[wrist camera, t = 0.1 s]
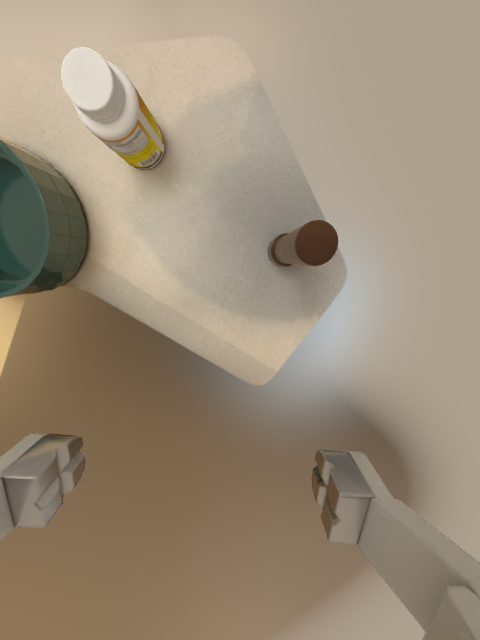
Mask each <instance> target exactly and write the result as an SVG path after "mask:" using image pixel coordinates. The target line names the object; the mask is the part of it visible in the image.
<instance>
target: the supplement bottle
mask: <svg viewBox="0 0 480 640" xmlns="http://www.w3.org/2000/svg"><path fill="white" fill-rule="evenodd" d="M61 80H62V84H63V87H64V90H65V92H66V94H67V95H68V97H69V98H70V100H71V101H72V102H73V103H74V107H75V110H76V112H77V114H78V116H79V118H80V120H81V121H82V123H83V124H84V125H85V126H86V127H87V128H88V129H89V130H90V131H91V132H92V133H93V134H94V135H95V136H97V137H98V138H99V139H100V140H101V141H103V142H104V143H105V144H106V145H107V146H108V147H110V148H111V149H112V150H113V151H114V152H115V153H117V154H118V155H119V156H120V157H121V158H123V159H124V160H125V161H126V162H127V163H128V164H130V165H132V166H133V167H135V168H138V169H149V168H152V167H154V166H155V165H157V164H158V163H159V161H160V160H161V158H162V156H163V153H164V137H163V134H162V132H161V129H160V127H159V126H158V124H157V122H156V121H155V119H154V118H153V116H152V114H151V113H150V111H149V110H148V108H147V106H146V105H145V103H144V102H143V100H142V98H141V97H140V95H139V93H138V92H137V90H136V89H135V87H134V85H133V84H132V82H131V80H130V79H129V78H128V76H127V75H126V74H125V73H124V72H123V71H122V70H121V69H120V68H119V67H118V66H116V65H115V64H113V63H111V62H108V61H106V60H105V59H104V58H103V57H102V56H101V55H100V54H99V53H97V52H96V51H95V50H93V49H90V48H86V47H78V48H75V49H73V50H71V51H70V52H69V53H68V54H67V55H66V57H65V58H64V60H63V63H62V67H61Z"/></svg>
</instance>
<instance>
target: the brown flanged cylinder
mask: <svg viewBox="0 0 480 640" xmlns="http://www.w3.org/2000/svg"><path fill="white" fill-rule="evenodd" d="M337 246H338V236H337V233H336V231H335V229H334V228H333V226H332V225H330V224H329V223H328V222H325V221H322V220H315V221H311V222H309V223H307V224H305V225H303V226H301V227H299V228H298V229H296V230H294V231H292V232H290V233H289V234H282V235H280V236H278V237H276V238H275V239H274V240H272V242H271V243H270V245H269V247H268V256H269V258H270V260H271V261H272V262H273V263H274V264H276V265H279V266H291V265H293V264H295V265H309V266H318V265H322V264H324V263H326V262H327V261H329V260H330V259H331V258H332V257H333V255H334V254H335V252H336V250H337Z"/></svg>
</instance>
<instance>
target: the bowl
mask: <svg viewBox="0 0 480 640" xmlns="http://www.w3.org/2000/svg"><path fill="white" fill-rule="evenodd" d="M86 242H87V233H86V224H85V218H84V215H83V212H82V210H81V207H80V204H79V201H78V199H77V197H76V196H75V194H74V193H73V191H72V189H71V188H70V186H69V184H68V183H67V182H66V181H65V179H64V178H63V177H62V176H61V175H60V174H59V173H58V172H57V171H56V170H55V169H54V168H53V167H52V166H51V165H49V164H48V163H46V162H45V161H43V160H42V159H40V158H39V157H37V156H36V155H34V154H33V153H31V152H29V151H27V150H25V149H23V148H21V147H19V146H17V145H15V144H13V143H11V142H9V141H7V140H5V139H3V138H2V137H0V299H1V298H7V297H13V296H20V295H26V294H32V293H39V292H43V291H48V290H53V289H55V288H57V287H59V286H60V285H62V284H64V283H66V282H67V281H68V280H69V279H70V278H71V277H72V276H73V275H74V274H75V273H76V272H77V270H78V268H79V266H80V264H81V262H82V260H83V258H84V255H85V249H86Z"/></svg>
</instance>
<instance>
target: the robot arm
mask: <svg viewBox="0 0 480 640" xmlns="http://www.w3.org/2000/svg"><path fill="white" fill-rule="evenodd" d="M82 446H83V441H82V438H81V437H79V436H72V435H61V434H45V433H32V434H29V435H27V436H26V437H25V438H24V439H22V440H21V441H20V442H19V443H18V444H16V445H15V446H14V447H13V448H12V449H10V450H9V451H8V452H7V453H5V454H4V455H3V456H2V457H0V540H1V539H2V538H3V537H5V536H6V535H7V534H8V533H10V532H11V531H12V530H14V527H44V528H45V527H46V526H47V524H48V523H49V522H50V520H51V519H52V518H53V516H54V515H55V514H56V512H57V511H58V510H59V508H60V507H61V505H62V504H63V496H64V495H65V494H67V493H68V492H70V491H71V490H73V489H74V488H75V486H76V485H77V483H78V482H79V480H80V478H81V476H82V474H83V471H84V468H85V456H84V455H83V454H82V453H81V452H80V449H81V448H82ZM315 460H316V463H317V466H316V467H315V468H314V469H313V474H312V488H313V493H314V497H315V500H316V503H317V504H318V505H319V506H320V507H321V508H322V515H321V519H322V522H323V525H324V528H325V532H326V535H327V538H328V541H329V542H331V543H343V544H354V545H358V548H359V549H360V550H361V552H362V553H363V554H364V555H365V557H366V558H367V559H368V560H369V562H370V563H371V564H372V565H373V567H374V568H375V569H376V570H377V572H378V573H379V574H380V575H381V577H382V578H383V579H384V580H385V582H386V583H387V584H388V585H389V587H390V588H391V589H392V590H393V592H394V593H395V594H396V595H397V597H399V599H400V600H401V602H402V603H403V604H404V605H405V607H406V608H407V609H408V610H409V612H410V613H411V614H412V615H413V616H414V617H415V619H416V620H417V622H418V623H419V624H420V625H421V627H422V628H423V629H424V630H425V632H426V633H425V635H424V637H423V639H422V640H480V562H478V561H477V560H476V559H474V558H473V557H472V556H471V555H469V554H468V553H467V552H465V551H464V550H463V549H462V548H460V547H459V546H458V545H456V544H455V543H454V542H453V541H451V540H450V539H449V538H447V537H446V536H445V535H444V534H442V533H441V532H440V531H438V530H437V529H436V528H435V527H433V526H432V525H431V524H430V523H428V522H427V521H426V520H424V519H423V518H422V517H421V516H419V515H418V514H417V513H415V512H414V511H413V510H412V509H410V508H409V507H408V506H406V505H405V504H404V503H403V502H401V501H400V500H396V499H394V498H393V497H392V495H391V494H390V492H389V491H388V489H387V488H386V486H385V484H384V483H383V481H382V480H381V478H380V477H379V475H378V474H377V472H376V471H375V469H374V468H373V466H372V465H371V463H370V461H369V460H368V459H367V457H366V455H365V454H364V453H362V452H353V451H352V452H351V451H347V452H346V451H330V450H318V451H317V453H316V457H315Z"/></svg>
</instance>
